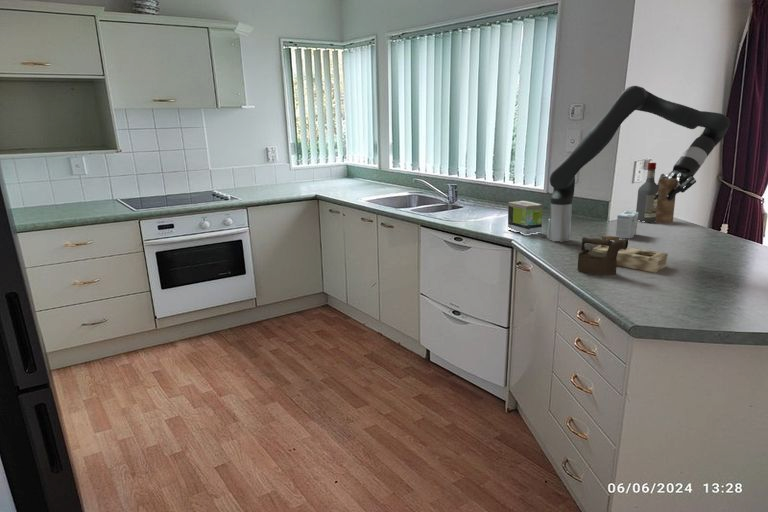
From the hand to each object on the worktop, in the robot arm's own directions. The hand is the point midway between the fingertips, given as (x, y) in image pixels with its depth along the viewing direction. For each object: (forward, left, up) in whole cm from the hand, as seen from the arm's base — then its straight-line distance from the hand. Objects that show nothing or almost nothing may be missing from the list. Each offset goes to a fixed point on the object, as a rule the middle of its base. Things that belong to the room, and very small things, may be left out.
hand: (662, 198), depth 182 cm
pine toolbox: (-8, -5, -26) cm, 27 cm away
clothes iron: (-12, -21, -26) cm, 35 cm away
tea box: (-67, +16, -26) cm, 74 cm away
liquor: (-31, +74, -26) cm, 84 cm away
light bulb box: (-26, +37, -26) cm, 52 cm away
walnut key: (+1, +2, -9) cm, 9 cm away
